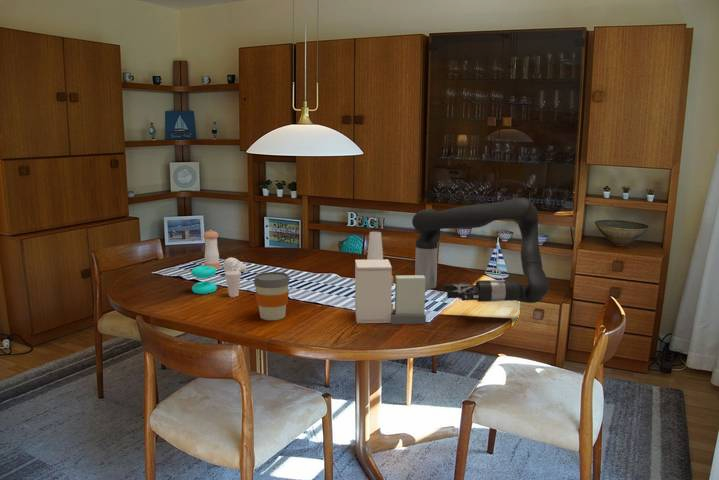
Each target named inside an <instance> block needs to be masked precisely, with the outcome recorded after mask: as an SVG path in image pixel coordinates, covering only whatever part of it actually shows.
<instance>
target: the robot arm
mask: <svg viewBox="0 0 719 480" xmlns="http://www.w3.org/2000/svg"><path fill="white" fill-rule="evenodd" d="M501 220H513V221H514V222H515V224H517V225H518V228H519V231H520V236H521V247H520V260H521V269H522V272H523V275H524V276H525V277H526V278H527V281H528V283H527V284H520V283H519V282H518V281H516V280H499V279H498V280H496V279H491V280H483V279H482V280H476V282H475V284H474V285H475V286H471V285H472V284H471V282H463V283H462V282H454V283H453V284H443V285H442V291H443V292H446V297H447V299H459V300H461V301H477V302H478V303H482V302H483V303H485V302H486V303H489V302H492V303H493V302H503V301H504V302H506V301H510V302H513V301H516V302H520V303H521V302H522V303H526V304H535V303H539V302H540V301H541V300H543V299H544V297H545V296H546V295H547V294H548V292H549V282H548V278H547V275H546V273H545V271H544V269H543V262H542V256H541V252H540V250H541V249H540V245H539V244H540V243H539V211H538V209H537V207H536V206H535V205H534V204H533V202H532V201H530V200H529V199H528V198H525V197H517V198H512V199H506V200H502V201H497V202H490V203H489V202H488V203H479V204H469V205H462V206H457V207H453V208H449V209H446V210H439V211H438V210H435V209H433V208H428V209H423V210H420V211H418V212H415V214H414V215H413V217H412V221H411V222H412V227H413V228H414V229H415V230H416V231H418V232H419V236H418V237H417V239H416V240H415V265H414V271H415V273H414V275H424V277H425V290H428V289H429V290H431V289H435V288H437V278H438V276H437V274H438V245H439V241H440V237H441V236H440V235H441V230H443V229H446V230H447V229H451V230H452V229H454V230H457V229H476V228H477V229H478V228H483V227H485V226H486V225H487V226H488V224H491V223H492V222H495V221H501ZM457 287H458V288H457Z"/></svg>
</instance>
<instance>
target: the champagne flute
mask: <svg viewBox="0 0 719 480" xmlns="http://www.w3.org/2000/svg"><path fill="white" fill-rule="evenodd" d="M368 237H369V238H368V247H367V256H366V257H367V258H366V260H384V250H383V242H382V241H383V240H382V239H383V238H382V232H381V231H369V236H368Z"/></svg>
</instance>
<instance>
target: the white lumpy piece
mask: <svg viewBox="0 0 719 480" xmlns="http://www.w3.org/2000/svg"><path fill="white" fill-rule="evenodd" d="M231 262H232V263H233V271H240V272H244V273H245V272H247V271H246V270H247V265H246V264H245V263H243V262H241V261H240V260H239V259H237V258H235V257H227V258H226V259H225V260H224V262H223V264H222V267H223V270H224V273H225V272H228V271H231Z"/></svg>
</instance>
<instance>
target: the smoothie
mask: <svg viewBox="0 0 719 480" xmlns="http://www.w3.org/2000/svg"><path fill="white" fill-rule="evenodd" d="M224 276H225V280H226V285H227V291H228V297H229V296H230V297H229V298H235V297H236V296H237V297H238V296H239V294H240V292H239V291H240V285H241V283H240V282H241V280H240V279H241V276H242V273H241V272H240V271H233V263H232V262H231V271H228V272H225V271H224Z"/></svg>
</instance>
